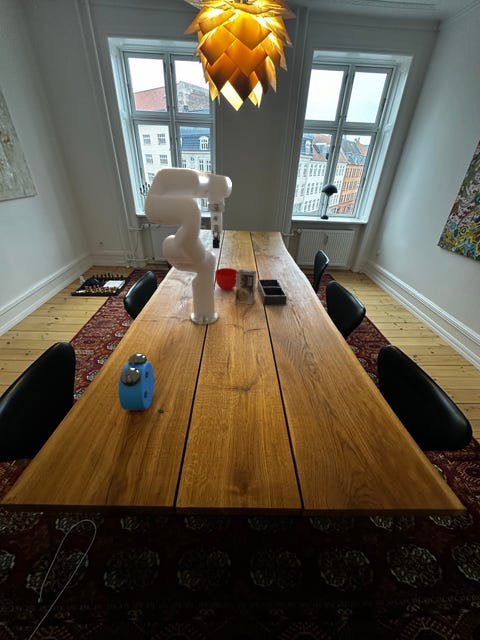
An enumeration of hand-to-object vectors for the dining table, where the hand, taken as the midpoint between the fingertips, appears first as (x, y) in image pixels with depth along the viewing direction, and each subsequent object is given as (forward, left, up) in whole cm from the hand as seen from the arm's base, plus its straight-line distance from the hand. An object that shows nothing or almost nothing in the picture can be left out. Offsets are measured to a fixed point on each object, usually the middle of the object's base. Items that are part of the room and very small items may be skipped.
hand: (216, 245), depth 125 cm
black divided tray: (+1, -30, -28) cm, 41 cm away
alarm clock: (-71, +23, -28) cm, 80 cm away
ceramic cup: (+10, -7, -28) cm, 30 cm away
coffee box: (-5, -15, -28) cm, 32 cm away
